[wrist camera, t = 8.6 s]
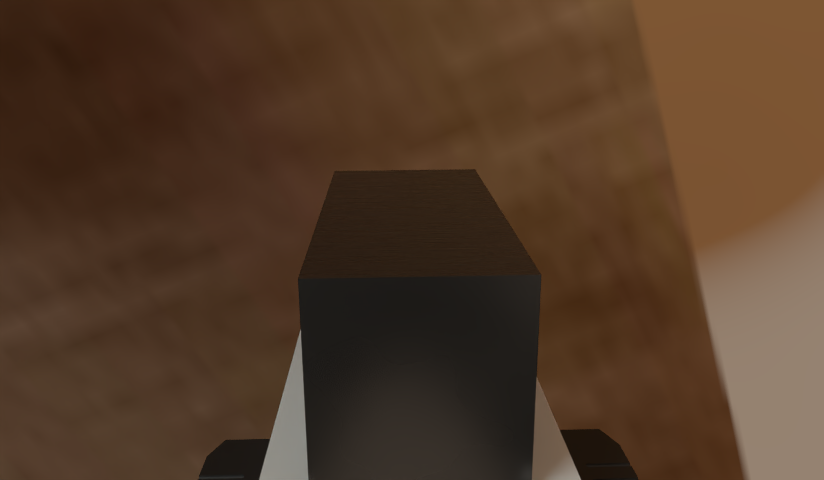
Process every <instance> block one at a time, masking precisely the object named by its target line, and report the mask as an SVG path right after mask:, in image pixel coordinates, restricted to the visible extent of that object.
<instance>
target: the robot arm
mask: <svg viewBox="0 0 824 480" xmlns="http://www.w3.org/2000/svg"><path fill="white" fill-rule="evenodd" d="M199 480H308V463H307V443H306V424H305V404H304V384H303V365H302V345H301V330H300V333H299V337H298V341H297V344H296V348H295V352H294V355H293V359H292V362H291V366H290V370H289V373H288V377H287V380H286V384H285V388H284V391H283V395H282V399H281V402H280V406H279V409H278V413H277V417H276V420H275V424H274V427H273V431H272V435H271V438H270V439H249V440H225V441H224V442H223V443H222V444H221V445H220V446H218V447H217V448H216V449H215V450H214V451H213V452H212V453H211V454H210V455H208V456H207V458H206V460H205V463H204V465H203V468H202V470H201V472H200V475H199ZM532 480H638V477H637V475H636V473H635V472H634V470H633V468H632V466H630V463H629V461H628V459H627V457H626V456H625V454H624V452H623V450H622V448H621V447H620V445H619V444H618V443H617V442H615V441H614V440H613V439H611V438H610V437H609V436H607V435H606V434H605V433H603V432H602V431H601V430H599V429H586V430H559V428H558V425H557V423H556V421H555V418H554V416H553V414H552V411H551V409H550V407H549V404H548V402H547V400H546V397H545V395H544V393H543V390H542V388H541V386H540V384H539V381H538V379H537V378H536V400H535V422H534V445H533V467H532Z"/></svg>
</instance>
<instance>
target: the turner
mask: <svg viewBox="0 0 824 480" xmlns="http://www.w3.org/2000/svg"><path fill="white" fill-rule="evenodd" d="M298 286H299V306H300V325H301V345H302V365H303V384H304V404H305V424H306V443H307V463H308V480H532V467H533V445H534V422H535V400H536V378H537V356H538V334H539V312H540V290H541V274H540V272H539V270H538V269H537V267H536V266H535V264H534V263H533V261H532V259H531V258H530V256H529V255H528V253H527V251H526V250H525V248H524V247H523V245H522V243H521V242H520V240H519V239H518V237H517V236H516V234H515V232H514V231H513V229H512V228H511V226H510V224H509V223H508V221H507V220H506V218H505V216H504V215H503V213H502V212H501V210H500V208H499V207H498V205H497V204H496V202H495V201H494V199H493V197H492V196H491V194H490V193H489V191H488V189H487V188H486V186H485V185H484V183H483V181H482V180H481V178H480V177H479V175H478V174H477V172H476V170H475V169H473V170H391V171H335V172H334V175H333V178H332V181H331V184H330V187H329V189H328V192H327V195H326V198H325V201H324V204H323V207H322V210H321V213H320V216H319V219H318V222H317V225H316V228H315V231H314V234H313V237H312V240H311V242H310V245H309V248H308V251H307V254H306V257H305V260H304V263H303V266H302V269H301V272H300V275H299V278H298Z"/></svg>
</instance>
